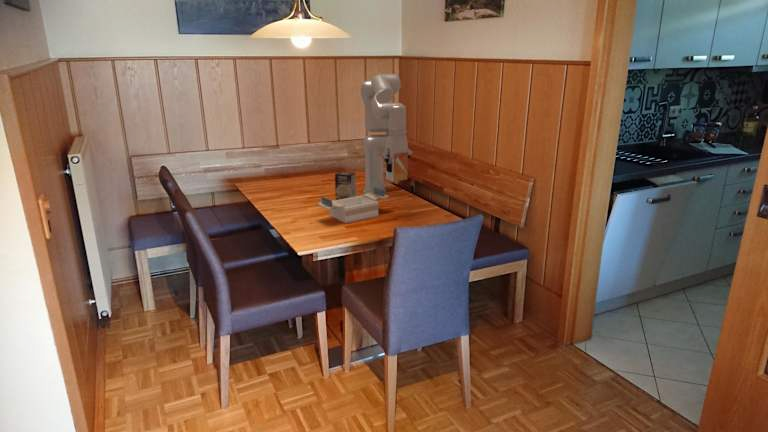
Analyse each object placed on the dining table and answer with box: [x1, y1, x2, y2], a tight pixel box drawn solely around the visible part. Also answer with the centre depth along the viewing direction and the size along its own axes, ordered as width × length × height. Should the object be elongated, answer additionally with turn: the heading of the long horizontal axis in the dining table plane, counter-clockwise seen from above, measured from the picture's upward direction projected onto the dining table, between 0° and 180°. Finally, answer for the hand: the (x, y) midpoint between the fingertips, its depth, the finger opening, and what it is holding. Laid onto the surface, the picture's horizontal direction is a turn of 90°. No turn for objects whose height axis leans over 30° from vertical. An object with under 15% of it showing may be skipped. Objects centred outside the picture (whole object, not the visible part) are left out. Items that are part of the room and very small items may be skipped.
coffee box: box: [334, 171, 357, 201], centre depth 259 cm, size 9×6×16 cm
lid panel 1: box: [315, 196, 345, 211], centre depth 231 cm, size 9×11×4 cm
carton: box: [329, 195, 379, 224], centre depth 240 cm, size 18×14×7 cm
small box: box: [385, 152, 409, 182], centre depth 235 cm, size 8×6×13 cm
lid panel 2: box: [361, 187, 391, 201], centre depth 245 cm, size 9×11×4 cm
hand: (396, 170), depth 236 cm, fingers closed on small box, 8 cm apart
